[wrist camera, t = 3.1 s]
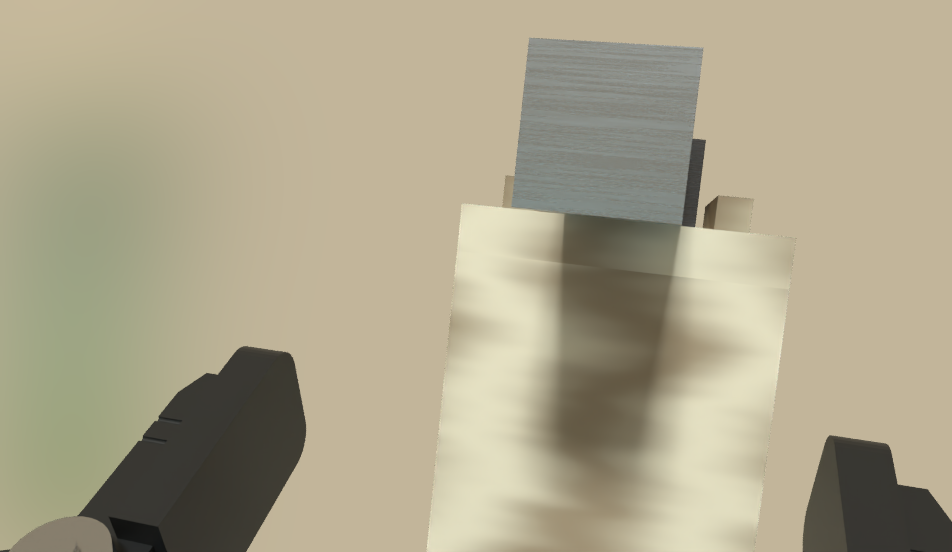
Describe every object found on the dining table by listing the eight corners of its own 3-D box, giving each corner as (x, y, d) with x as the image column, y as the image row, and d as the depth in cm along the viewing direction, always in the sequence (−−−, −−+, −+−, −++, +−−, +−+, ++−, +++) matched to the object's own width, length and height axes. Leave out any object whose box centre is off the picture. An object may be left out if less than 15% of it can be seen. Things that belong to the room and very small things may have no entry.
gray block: (693, 228, 38) (702, 150, 38) (710, 227, 17) (732, 49, 17) (590, 217, 39) (599, 141, 39) (485, 204, 18) (502, 35, 18)
